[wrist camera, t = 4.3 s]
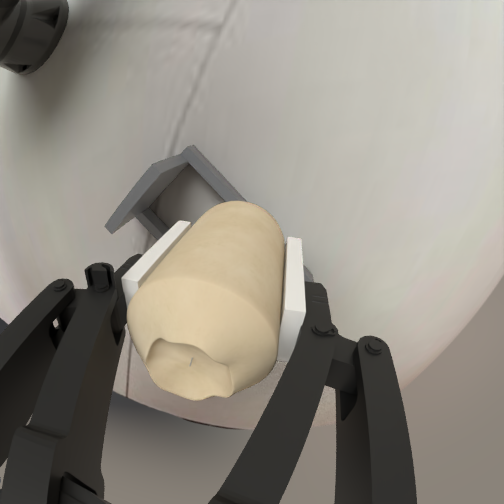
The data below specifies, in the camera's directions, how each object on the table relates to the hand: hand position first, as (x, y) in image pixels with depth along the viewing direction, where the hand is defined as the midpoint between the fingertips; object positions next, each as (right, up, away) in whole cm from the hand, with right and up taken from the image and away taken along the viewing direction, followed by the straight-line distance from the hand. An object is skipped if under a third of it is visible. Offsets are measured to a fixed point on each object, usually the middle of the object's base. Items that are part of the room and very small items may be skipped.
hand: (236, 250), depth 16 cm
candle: (0, +1, +1) cm, 1 cm away
